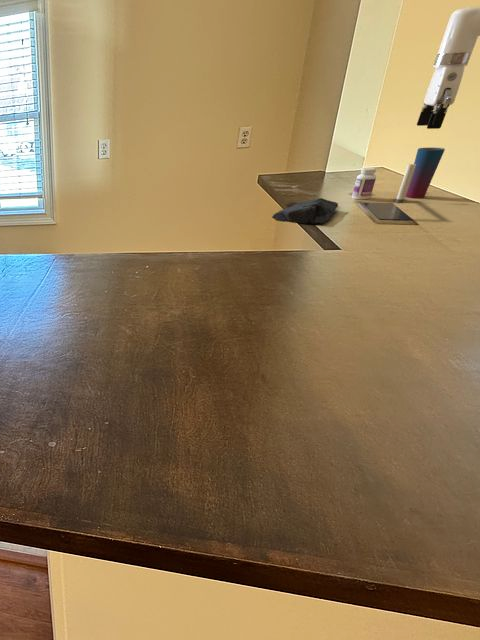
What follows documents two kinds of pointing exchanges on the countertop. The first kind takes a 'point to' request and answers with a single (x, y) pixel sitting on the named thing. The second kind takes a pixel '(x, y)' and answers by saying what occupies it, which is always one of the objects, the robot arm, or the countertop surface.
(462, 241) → the countertop surface
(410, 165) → the stylus
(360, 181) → the pill bottle
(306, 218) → the dark slate chunk
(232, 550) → the countertop surface
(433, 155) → the cup
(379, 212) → the tablet
